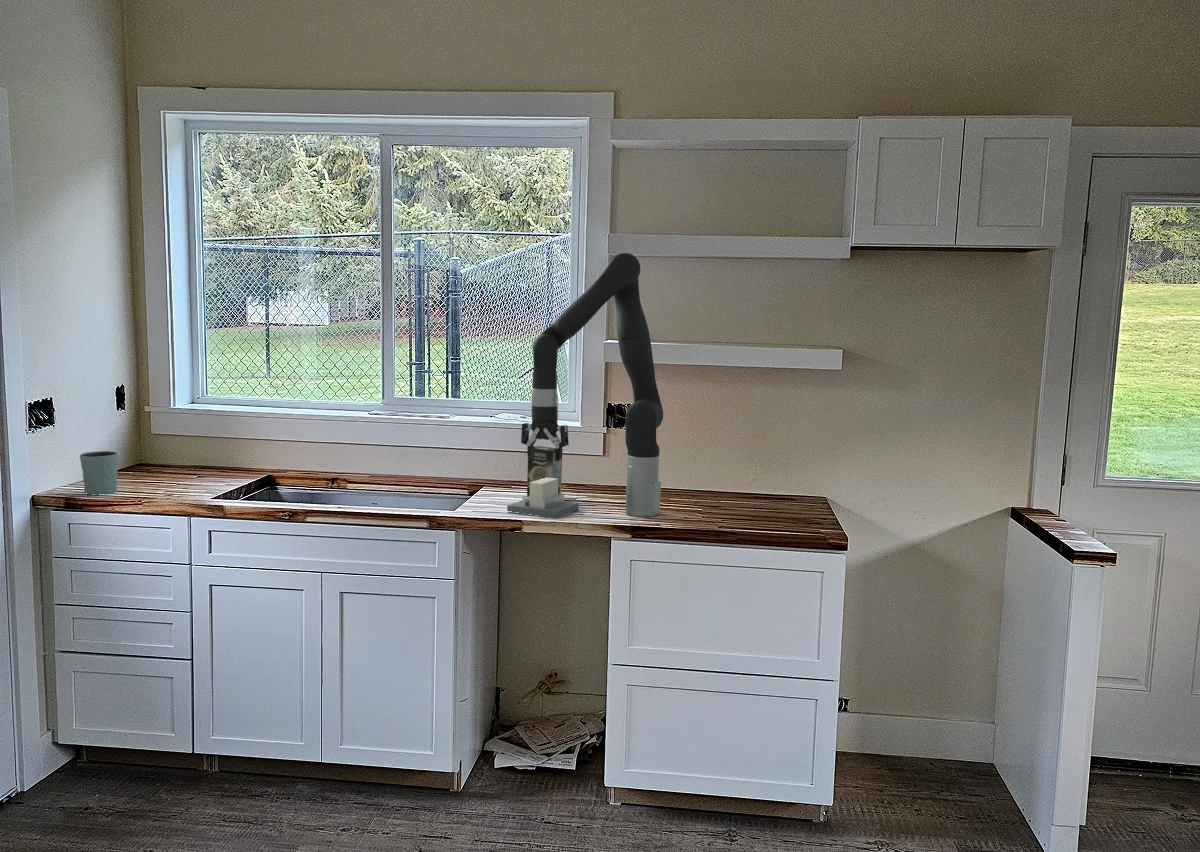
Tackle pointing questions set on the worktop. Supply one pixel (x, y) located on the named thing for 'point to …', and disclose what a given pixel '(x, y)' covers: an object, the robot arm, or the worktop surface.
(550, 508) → the book rack
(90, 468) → the green cup
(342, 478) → the worktop surface
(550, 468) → the coffee box
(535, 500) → the block
